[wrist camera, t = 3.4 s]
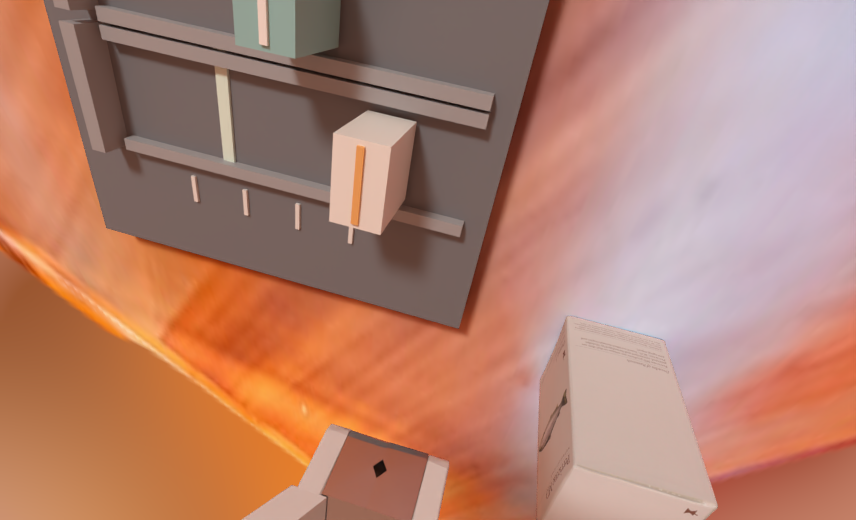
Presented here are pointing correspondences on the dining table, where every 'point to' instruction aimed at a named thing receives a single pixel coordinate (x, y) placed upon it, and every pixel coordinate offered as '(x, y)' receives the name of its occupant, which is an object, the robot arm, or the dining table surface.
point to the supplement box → (616, 432)
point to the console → (300, 135)
